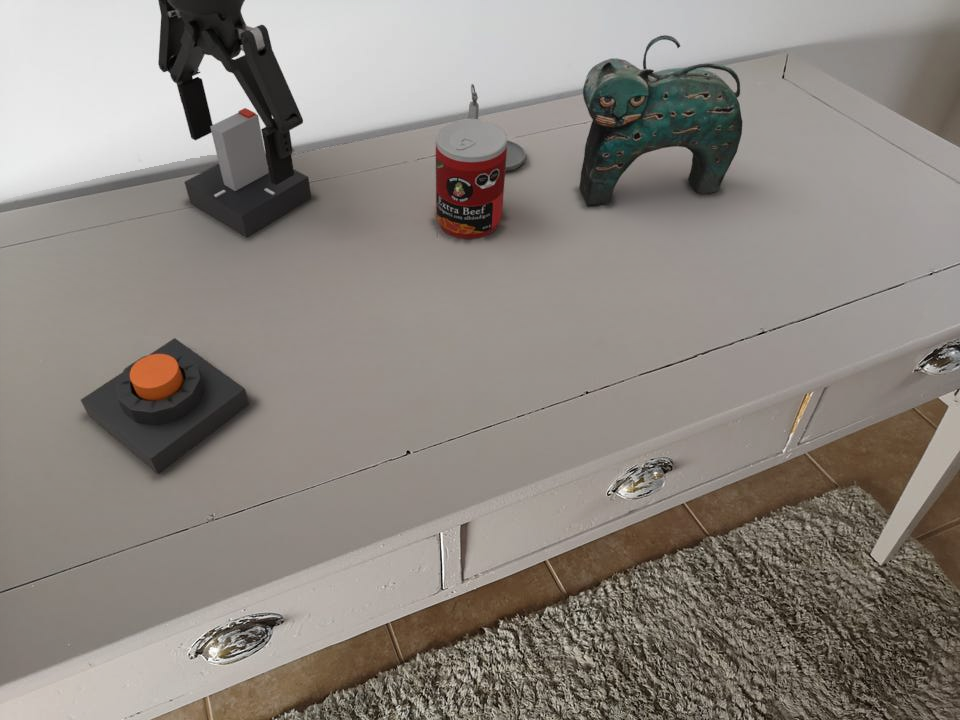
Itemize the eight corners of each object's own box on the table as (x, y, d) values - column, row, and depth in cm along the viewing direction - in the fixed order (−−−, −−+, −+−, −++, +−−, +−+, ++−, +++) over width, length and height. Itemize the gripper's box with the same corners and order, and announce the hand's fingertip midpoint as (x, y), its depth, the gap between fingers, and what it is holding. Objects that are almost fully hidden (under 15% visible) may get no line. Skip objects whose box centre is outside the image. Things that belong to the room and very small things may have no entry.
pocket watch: (534, 165, 100) (542, 92, 93) (479, 183, 97) (482, 110, 89) (500, 135, 105) (504, 64, 97) (446, 151, 101) (446, 79, 94)
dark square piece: (88, 415, 70) (72, 386, 67) (180, 353, 75) (169, 324, 72) (157, 474, 66) (144, 445, 63) (249, 404, 71) (241, 375, 68)
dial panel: (190, 203, 92) (183, 180, 89) (255, 167, 97) (251, 145, 95) (246, 237, 88) (241, 214, 85) (311, 198, 93) (308, 175, 91)
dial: (235, 191, 89) (221, 130, 83) (223, 184, 89) (209, 124, 84) (269, 172, 91) (257, 112, 86) (257, 166, 92) (245, 106, 86)
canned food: (426, 231, 90) (424, 148, 82) (450, 194, 95) (451, 111, 87) (489, 247, 88) (494, 163, 80) (509, 208, 93) (516, 125, 85)
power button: (125, 385, 68) (119, 372, 66) (164, 360, 70) (158, 346, 69) (154, 408, 66) (148, 395, 65) (192, 381, 68) (187, 368, 67)
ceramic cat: (575, 213, 93) (600, 51, 79) (561, 182, 98) (582, 23, 83) (729, 199, 96) (780, 41, 82) (708, 170, 101) (754, 14, 86)
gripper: (323, -17, 70) (344, 183, 85) (150, -85, 80) (197, 106, 95) (258, 9, 66) (293, 214, 81) (85, -66, 75) (145, 130, 91)
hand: (241, 156), depth 88 cm, fingers open, 13 cm apart
